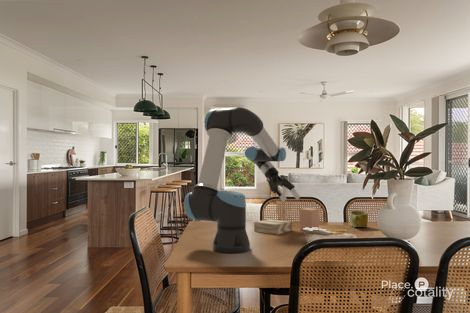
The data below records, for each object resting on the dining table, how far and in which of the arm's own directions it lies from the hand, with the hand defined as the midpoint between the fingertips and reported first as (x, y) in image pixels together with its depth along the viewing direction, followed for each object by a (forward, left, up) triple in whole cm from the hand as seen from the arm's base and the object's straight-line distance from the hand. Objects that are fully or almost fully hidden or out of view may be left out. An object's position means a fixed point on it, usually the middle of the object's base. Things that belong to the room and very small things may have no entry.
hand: (292, 199), depth 192 cm
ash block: (-13, +7, -16) cm, 21 cm away
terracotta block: (-4, -10, -15) cm, 19 cm away
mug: (+13, -33, -16) cm, 39 cm away
